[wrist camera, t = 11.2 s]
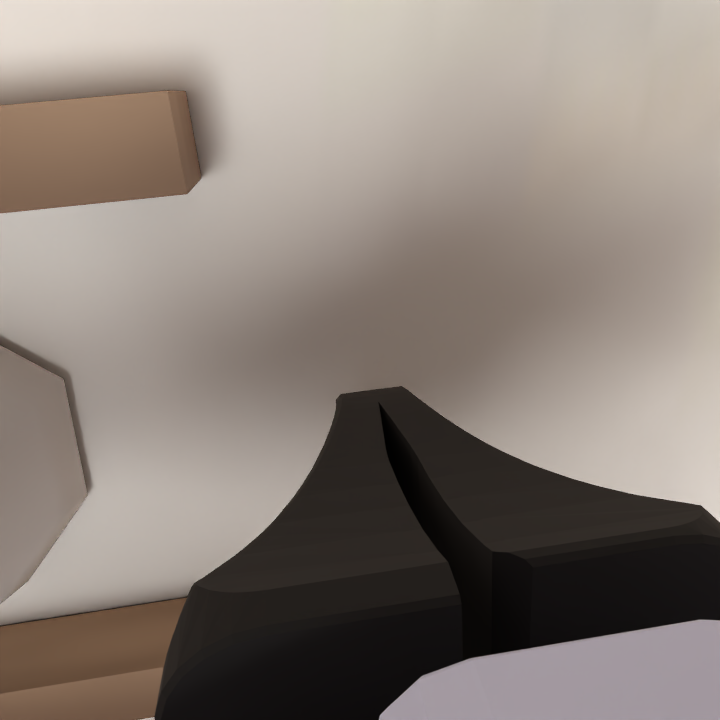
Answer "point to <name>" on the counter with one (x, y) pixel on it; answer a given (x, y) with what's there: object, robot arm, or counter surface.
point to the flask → (34, 467)
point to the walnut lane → (70, 188)
